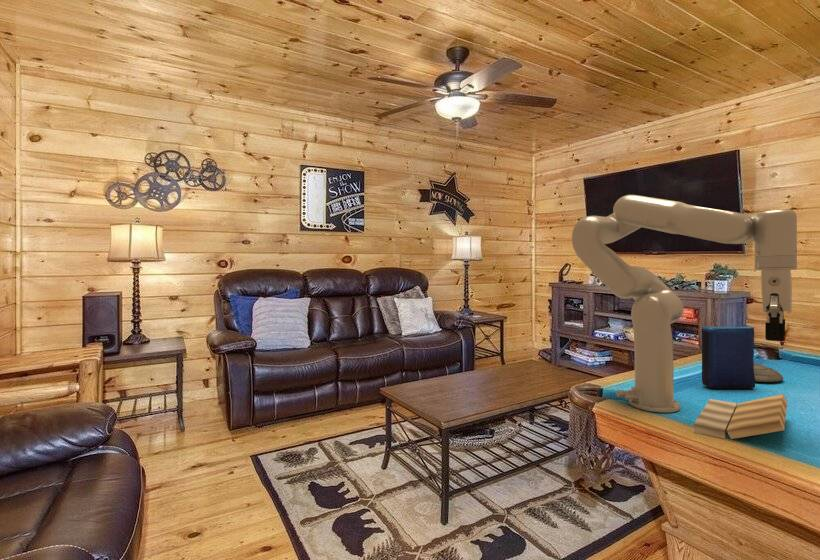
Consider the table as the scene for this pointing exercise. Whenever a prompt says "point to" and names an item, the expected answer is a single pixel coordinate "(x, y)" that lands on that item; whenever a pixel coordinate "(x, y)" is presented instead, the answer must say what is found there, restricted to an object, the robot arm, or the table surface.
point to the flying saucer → (766, 374)
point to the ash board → (715, 418)
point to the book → (728, 356)
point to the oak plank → (758, 417)
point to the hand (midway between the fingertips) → (775, 337)
